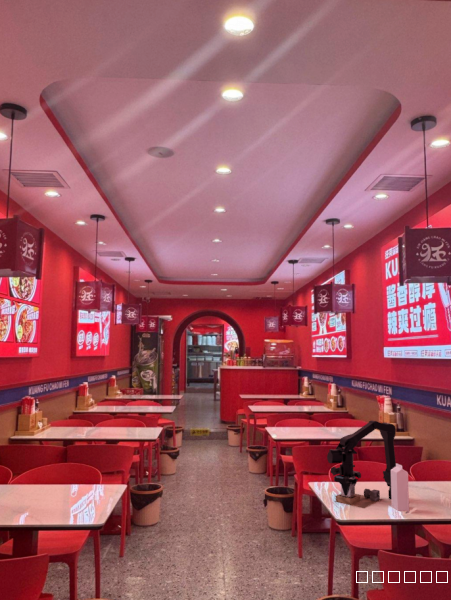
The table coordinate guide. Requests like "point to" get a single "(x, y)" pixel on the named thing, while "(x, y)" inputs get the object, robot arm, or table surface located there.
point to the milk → (399, 489)
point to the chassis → (360, 499)
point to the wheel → (367, 493)
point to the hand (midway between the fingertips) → (348, 494)
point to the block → (349, 491)
